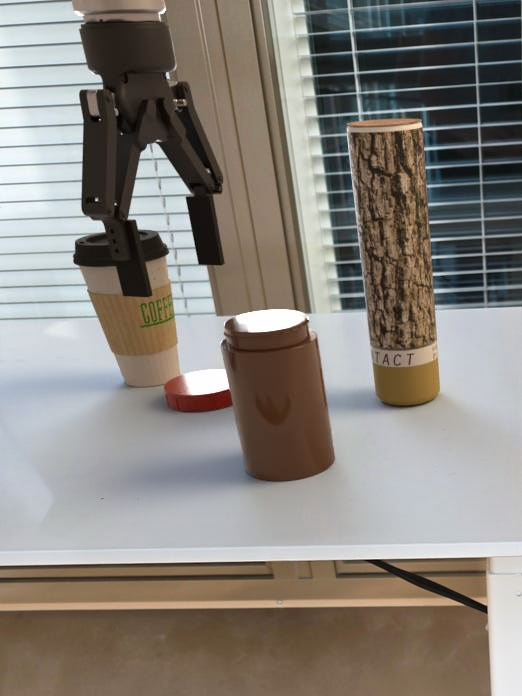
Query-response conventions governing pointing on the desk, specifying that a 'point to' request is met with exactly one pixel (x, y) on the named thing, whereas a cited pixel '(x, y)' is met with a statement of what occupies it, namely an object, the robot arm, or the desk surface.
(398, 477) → the desk surface
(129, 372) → the coffee cup
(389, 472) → the desk surface
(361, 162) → the paper tube
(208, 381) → the lid
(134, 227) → the robot arm
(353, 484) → the desk surface
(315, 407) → the jar
